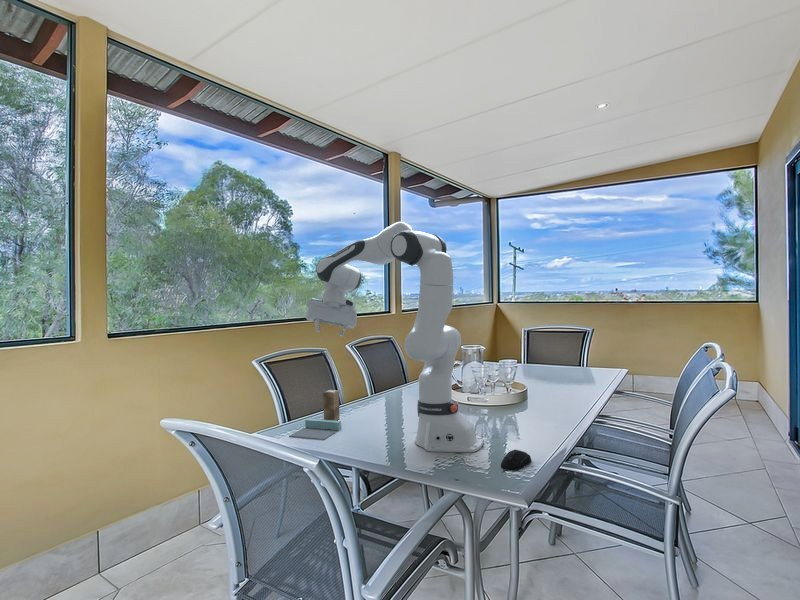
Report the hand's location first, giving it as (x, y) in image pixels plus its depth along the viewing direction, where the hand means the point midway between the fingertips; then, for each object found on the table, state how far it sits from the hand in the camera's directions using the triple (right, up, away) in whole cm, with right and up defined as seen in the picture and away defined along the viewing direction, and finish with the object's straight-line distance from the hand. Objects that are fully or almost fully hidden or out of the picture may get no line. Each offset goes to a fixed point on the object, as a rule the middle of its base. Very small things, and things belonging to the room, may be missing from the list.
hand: (330, 333), depth 176 cm
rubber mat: (-4, -36, -13) cm, 38 cm away
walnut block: (0, -35, +3) cm, 35 cm away
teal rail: (-2, -35, -6) cm, 36 cm away
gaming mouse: (+60, -35, -46) cm, 83 cm away
